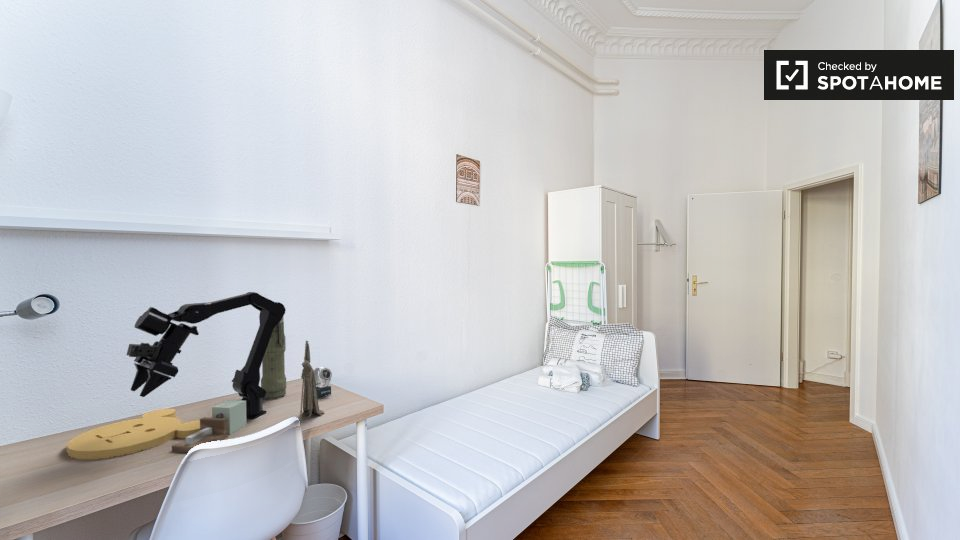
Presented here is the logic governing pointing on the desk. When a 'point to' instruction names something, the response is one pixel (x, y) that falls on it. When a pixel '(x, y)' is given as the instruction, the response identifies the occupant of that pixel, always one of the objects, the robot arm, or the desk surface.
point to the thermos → (274, 365)
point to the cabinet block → (231, 414)
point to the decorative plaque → (131, 435)
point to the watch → (326, 378)
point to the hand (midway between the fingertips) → (136, 393)
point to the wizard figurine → (309, 387)
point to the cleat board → (204, 424)
